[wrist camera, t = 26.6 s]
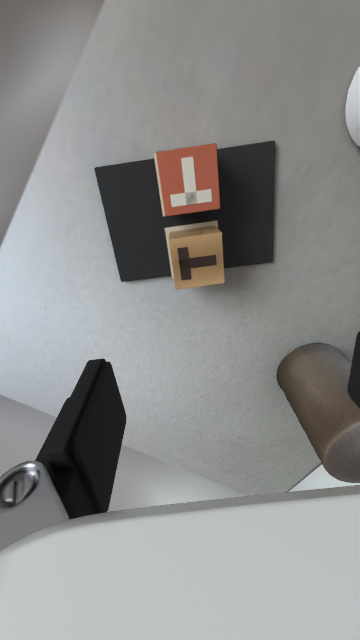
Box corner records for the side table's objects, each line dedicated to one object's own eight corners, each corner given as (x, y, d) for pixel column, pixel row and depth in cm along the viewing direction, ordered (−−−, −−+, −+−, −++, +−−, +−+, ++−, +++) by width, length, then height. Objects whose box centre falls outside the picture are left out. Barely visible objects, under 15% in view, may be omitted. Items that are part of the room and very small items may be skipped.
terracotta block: (158, 158, 27) (155, 151, 22) (209, 150, 26) (216, 142, 22) (166, 212, 29) (165, 216, 24) (213, 205, 29) (220, 208, 24)
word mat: (122, 283, 33) (121, 285, 32) (94, 163, 27) (92, 162, 27) (270, 263, 32) (272, 265, 32) (273, 136, 27) (275, 135, 26)
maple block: (169, 231, 30) (168, 239, 25) (214, 225, 29) (222, 232, 25) (175, 275, 32) (175, 289, 27) (217, 269, 32) (225, 283, 27)
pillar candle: (268, 393, 41) (314, 493, 28) (288, 337, 37) (354, 424, 23) (329, 398, 42) (403, 499, 28) (355, 345, 37) (456, 433, 24)
